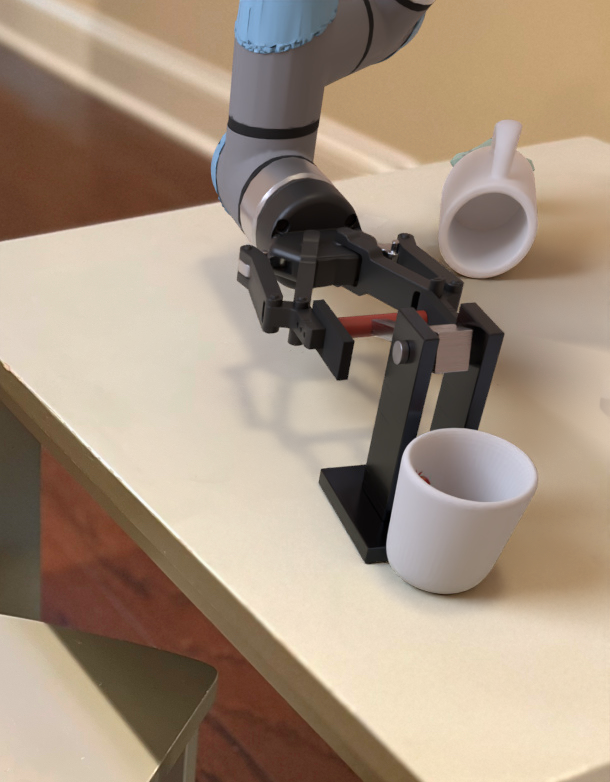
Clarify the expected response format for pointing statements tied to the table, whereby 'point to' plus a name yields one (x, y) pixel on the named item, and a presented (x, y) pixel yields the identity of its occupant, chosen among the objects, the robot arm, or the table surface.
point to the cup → (456, 507)
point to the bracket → (410, 420)
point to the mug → (489, 207)
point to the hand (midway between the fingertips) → (401, 356)
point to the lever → (452, 337)
